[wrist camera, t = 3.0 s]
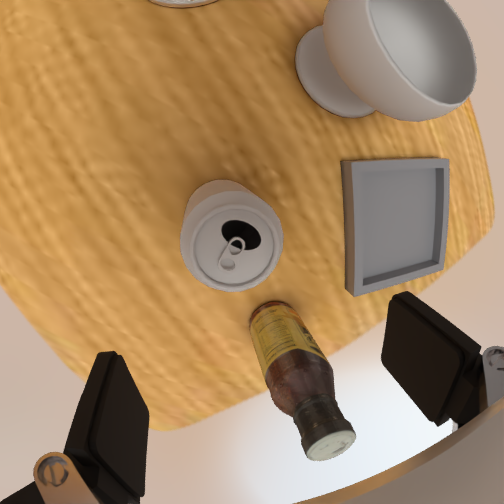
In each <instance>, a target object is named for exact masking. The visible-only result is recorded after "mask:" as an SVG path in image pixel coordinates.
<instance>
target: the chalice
mask: <svg viewBox="0 0 504 504" xmlns="http://www.w3.org/2000/svg"><path fill="white" fill-rule="evenodd" d="M295 63H296V70H297V73H298V77H299V80H300V81H301V83H302V85H303V87H304V89H305V90H306V92H307V93H308V94H309V95H310V97H311V98H312V99H313V100H314V101H315V102H316V103H317V104H319V105H320V106H321V107H322V108H324V109H326V110H327V111H329V112H331V113H332V114H335V115H338V116H341V117H346V118H359V117H364V116H367V115H369V114H371V113H373V112H374V111H375V110H377V111H378V112H380V113H382V114H384V115H387V116H390V117H392V118H395V119H397V120H404V121H413V122H420V121H425V120H430V119H434V118H438V117H441V116H443V115H446V114H447V113H449V112H451V111H453V110H454V109H456V108H458V107H459V106H460V105H462V104H463V103H464V102H465V101H466V100H467V98H468V97H469V95H470V94H471V92H472V91H473V88H474V85H475V82H476V73H477V67H476V57H475V53H474V49H473V45H472V42H471V39H470V37H469V34H468V32H467V30H466V28H465V26H464V24H463V23H462V21H461V19H460V18H459V16H458V15H457V13H456V12H455V11H454V9H453V8H452V7H451V6H450V4H449V3H448V2H447V1H446V0H329V2H328V4H327V6H326V9H325V11H324V20H323V25H320V26H316V27H314V28H313V29H311V30H309V31H308V32H307V33H306V34H305V35H304V36H303V37H302V38H301V40H300V42H299V44H298V46H297V49H296V55H295Z"/></svg>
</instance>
